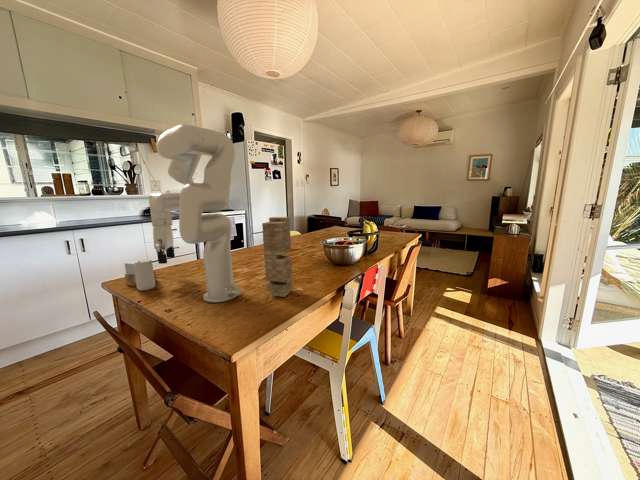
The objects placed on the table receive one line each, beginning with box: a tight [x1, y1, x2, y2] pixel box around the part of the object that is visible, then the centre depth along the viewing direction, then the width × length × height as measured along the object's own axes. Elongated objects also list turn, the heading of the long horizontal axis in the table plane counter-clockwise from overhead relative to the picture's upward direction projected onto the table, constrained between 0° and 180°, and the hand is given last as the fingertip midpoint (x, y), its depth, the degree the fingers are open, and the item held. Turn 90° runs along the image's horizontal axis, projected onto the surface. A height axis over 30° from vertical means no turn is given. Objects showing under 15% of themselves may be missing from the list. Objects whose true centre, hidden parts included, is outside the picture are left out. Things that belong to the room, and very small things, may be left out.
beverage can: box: [134, 258, 156, 292], centre depth 105 cm, size 6×6×12 cm
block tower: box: [261, 216, 294, 298], centre depth 96 cm, size 8×8×29 cm
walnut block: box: [124, 269, 157, 287], centre depth 113 cm, size 8×8×5 cm
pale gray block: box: [124, 258, 153, 275], centre depth 112 cm, size 7×7×5 cm
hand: (167, 260), depth 113 cm, fingers open, 9 cm apart
